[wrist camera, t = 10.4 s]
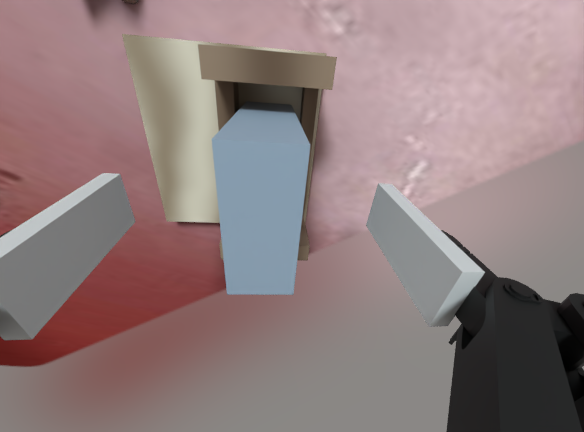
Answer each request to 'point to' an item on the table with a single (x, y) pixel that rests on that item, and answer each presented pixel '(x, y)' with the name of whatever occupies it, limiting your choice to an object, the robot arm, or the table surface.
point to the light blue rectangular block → (261, 196)
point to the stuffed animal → (131, 1)
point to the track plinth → (215, 110)
